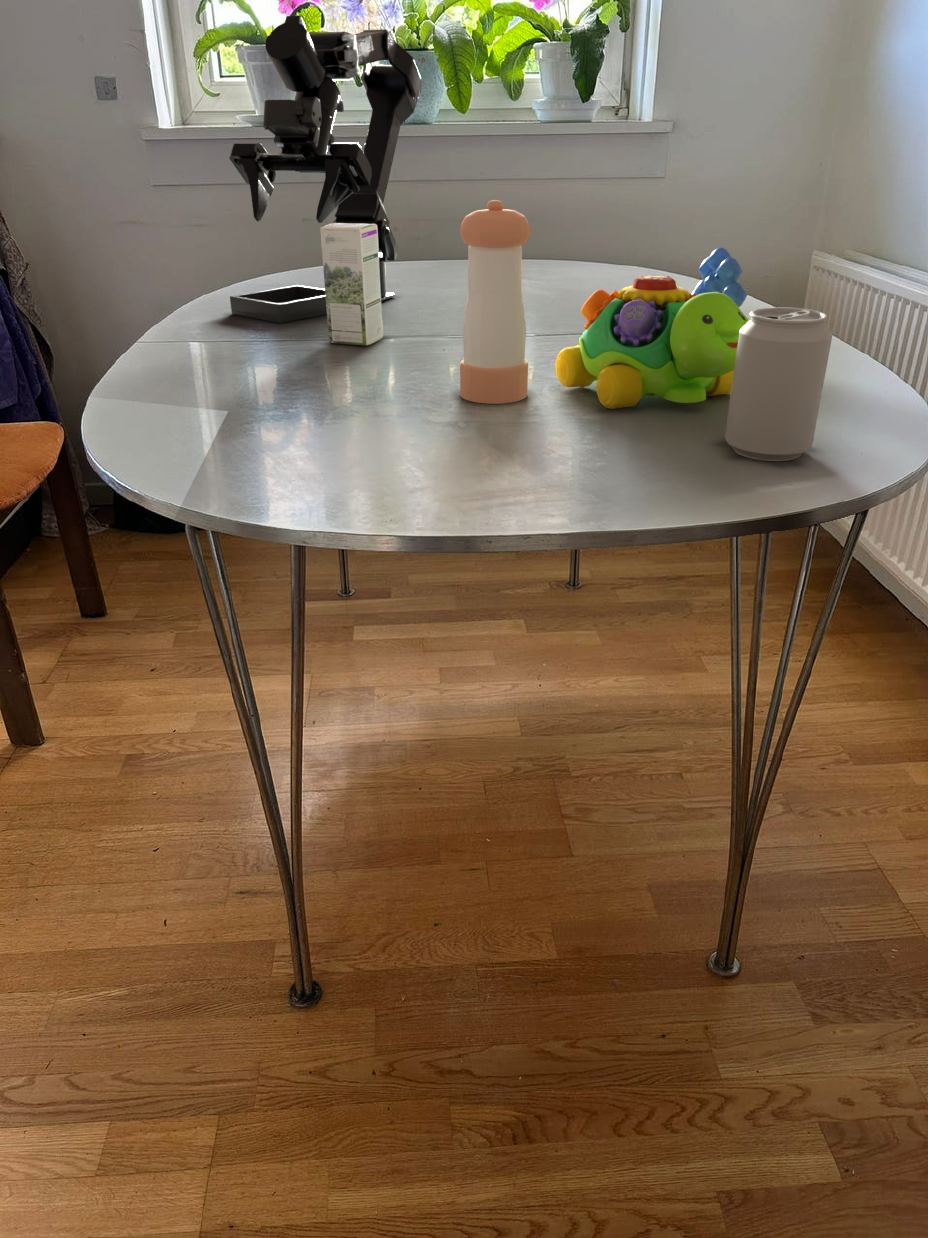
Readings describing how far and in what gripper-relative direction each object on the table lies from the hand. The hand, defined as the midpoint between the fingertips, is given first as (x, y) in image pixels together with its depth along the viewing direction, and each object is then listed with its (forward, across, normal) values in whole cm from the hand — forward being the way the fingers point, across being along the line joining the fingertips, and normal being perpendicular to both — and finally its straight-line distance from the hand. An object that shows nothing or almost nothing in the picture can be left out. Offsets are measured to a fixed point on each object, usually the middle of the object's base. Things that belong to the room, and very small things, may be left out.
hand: (287, 220), depth 122 cm
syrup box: (+14, +11, +6) cm, 19 cm away
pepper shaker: (+27, +36, -10) cm, 46 cm away
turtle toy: (+24, +53, -7) cm, 59 cm away
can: (+34, +64, -18) cm, 75 cm away
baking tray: (+3, -8, +19) cm, 21 cm away
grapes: (+8, +56, +12) cm, 58 cm away
